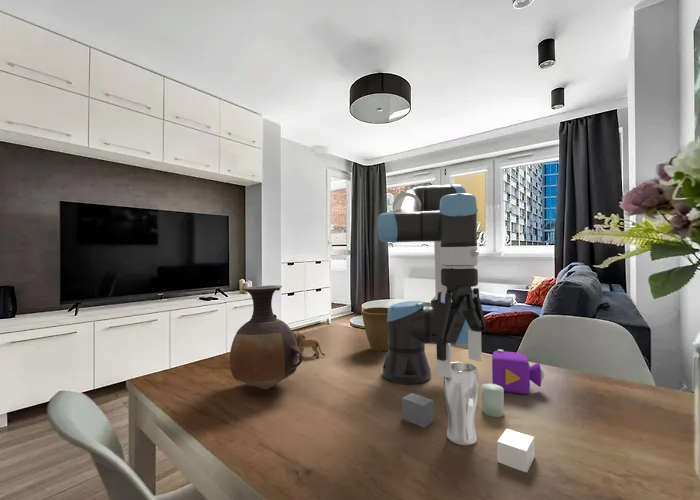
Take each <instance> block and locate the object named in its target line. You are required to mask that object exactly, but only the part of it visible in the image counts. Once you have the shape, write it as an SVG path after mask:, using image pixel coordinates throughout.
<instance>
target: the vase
mask: <svg viewBox="0 0 700 500" xmlns="http://www.w3.org/2000/svg"><path fill="white" fill-rule="evenodd" d="M282 287H283V286H282V285H278V284H275V285H271V284H269V285H255V286H253V285H252V286H245V287H244V286H243V287H241V290H243V291H244V292H247V293H249V295H250V296H251V299H252V305H253V310H252V315H251V318H250V320H248V321H246V322H245V323H244V324H242V326H241V327H239V328H238V330H237V331H236V333H235V335H234V337H233V340H232V341H231V342H232V343H231V347H230V351H229V366H230V371H231V375H232V377H233V378H234V379H235V380H237V381H239V382H242V383H245V384H247V386H248V387H256V388H259V389H262V390H264V391H267V390H269V389H270V388H272V387H274V386H275V385H276V384H278V383H280V382H282V381H283V380H285V379H287V378H289V377H290V376H292V375H293V374H294V373H295V372H296V371H297V368H298V367H299V366H300V365H301V364H302V362H303V359H304V356H303V353H302V351H301V350H300V349H299V348H298V347H297V342H296V339H295V336H294V334H293V332H294V331H292V329H291V328H290V326H289V325H288V324H287V323H286V322H284V320H282V319H278V316H277V315H276V314H274V312H273V307H272V302H273V296H274V293H275V292H276V291H280V290H281V289H282ZM298 354H299V356H298Z"/></svg>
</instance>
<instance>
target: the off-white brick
mask: <svg viewBox="0 0 700 500" xmlns="http://www.w3.org/2000/svg"><path fill="white" fill-rule="evenodd" d="M496 447H497V448H496V449H497V450H496V451H497V453H496V455H497V456H496V457H497V463H500V464H502V465H505V466H507V467H510V468H513V469H516V470H518V471H521V472H524V473H528V472H529V470H530V468H531V466H532V463H533V461H534V459H535V458H536V457H535V456H536V455H535V453H536V451H535V450H536V449H535V436H532V435H530V434H526V433H523V432H519V431H516V430H513V429H509V428H506V429H505V430H504V432H503V433H502V434H501V436H500V437H498V440H497V441H496Z"/></svg>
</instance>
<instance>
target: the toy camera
mask: <svg viewBox="0 0 700 500" xmlns="http://www.w3.org/2000/svg"><path fill="white" fill-rule="evenodd" d="M491 356H492V357H491V374H492V376H491V377H492V384H496V385H499V386H501V387H503V389H504V392H506V393H512V394H513V393H515V394H521V395H528V394H529V392H530V389H531V382H532V383H534V384H535V385H536V386H537V387H540V388H541V386H542V381H543V380H544V379H545V373H544V370H543V369H542V367H541V365H540V362H536V363H534V364H533V365H530V363H529V359H528V357H527V355H526V354H524V353H521V352H516V351H514V352H513V351H505V350H504V349H501V348H500V349H499V348H498V349H497V350H496V351H493V352H492V355H491Z"/></svg>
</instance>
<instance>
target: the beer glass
mask: <svg viewBox="0 0 700 500" xmlns="http://www.w3.org/2000/svg"><path fill="white" fill-rule="evenodd" d="M478 377H479V375H478V367H477V365H474V364H471V363H469V362H464V361H463V362H462V361H451V377H450V378H448V377H444V376H443V392H444V400H445V405H446V410H447V414H448V415H447V417H448V424H447V429H446V437H447V439H448V440H449V441H451V442H452V443H453V444H455V445H456V444H457V445H460V446H472V445H474V444H476V442H477V440H478V436H477V431H476V426H475V424H476V423H475V421H476V420H475V419H476V418H475V417H476V412H477V407H478V400H479V380H478V379H479V378H478Z"/></svg>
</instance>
